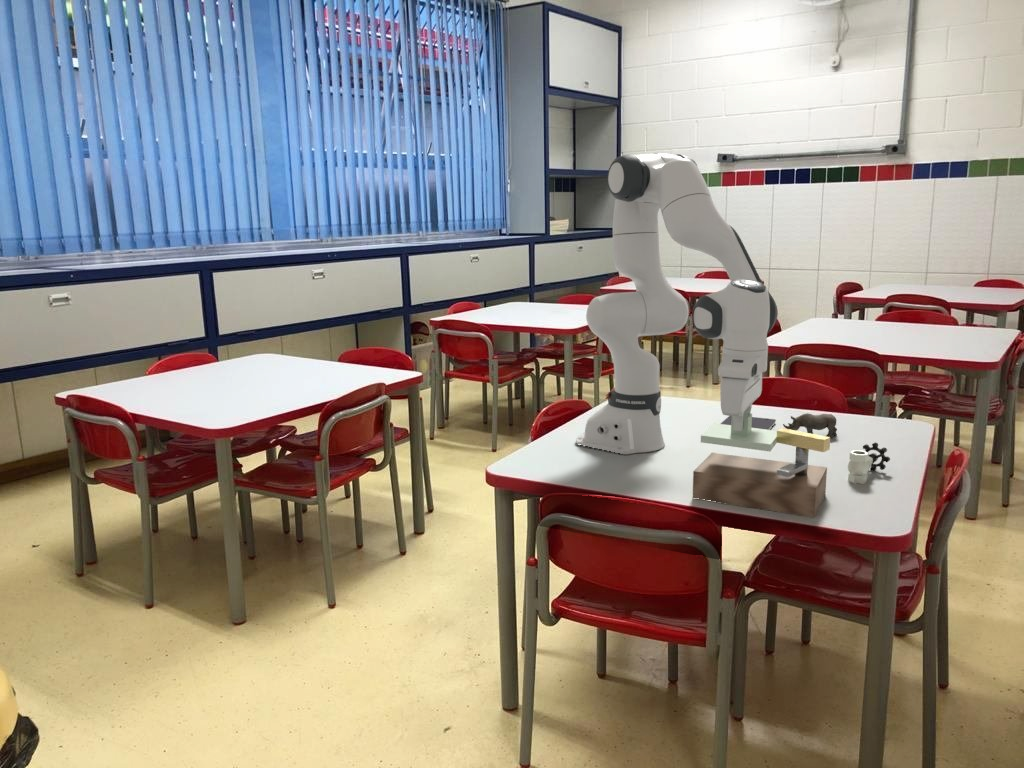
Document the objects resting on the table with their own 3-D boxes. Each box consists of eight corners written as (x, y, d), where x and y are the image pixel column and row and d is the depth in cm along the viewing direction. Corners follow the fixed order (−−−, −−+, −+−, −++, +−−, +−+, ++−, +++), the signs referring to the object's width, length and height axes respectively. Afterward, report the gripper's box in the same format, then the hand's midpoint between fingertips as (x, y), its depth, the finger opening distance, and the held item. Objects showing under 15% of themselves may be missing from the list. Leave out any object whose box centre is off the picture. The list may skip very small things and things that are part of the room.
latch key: (806, 488, 154) (808, 446, 153) (758, 476, 161) (760, 436, 160) (827, 477, 160) (830, 437, 158) (781, 466, 167) (783, 428, 166)
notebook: (730, 419, 230) (708, 439, 212) (730, 414, 229) (708, 433, 211) (776, 424, 223) (758, 445, 205) (776, 419, 223) (758, 439, 205)
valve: (869, 487, 172) (889, 473, 181) (871, 457, 171) (891, 445, 179) (838, 480, 177) (859, 467, 185) (840, 451, 175) (861, 439, 184)
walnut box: (692, 498, 168) (693, 471, 166) (710, 478, 180) (711, 452, 178) (814, 517, 156) (816, 488, 155) (825, 494, 168) (827, 467, 167)
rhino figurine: (781, 433, 214) (782, 411, 213) (835, 434, 212) (837, 412, 210) (783, 437, 210) (784, 415, 209) (839, 438, 208) (840, 416, 206)
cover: (700, 442, 167) (701, 416, 166) (713, 429, 175) (714, 405, 174) (770, 451, 160) (771, 424, 159) (780, 438, 169) (781, 412, 167)
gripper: (741, 350, 174) (738, 412, 177) (715, 369, 157) (712, 437, 160) (771, 353, 171) (767, 416, 174) (748, 372, 154) (745, 441, 157)
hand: (741, 426), depth 167 cm, fingers closed on cover, 3 cm apart
